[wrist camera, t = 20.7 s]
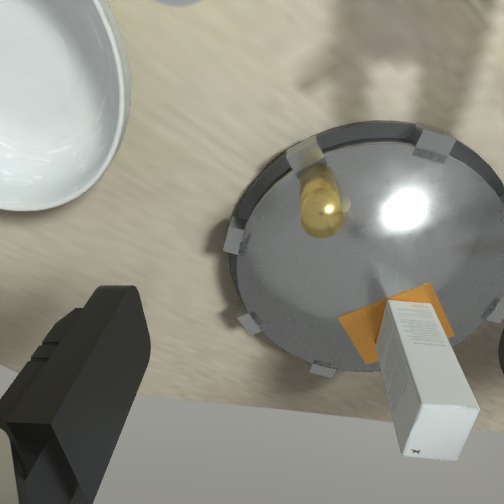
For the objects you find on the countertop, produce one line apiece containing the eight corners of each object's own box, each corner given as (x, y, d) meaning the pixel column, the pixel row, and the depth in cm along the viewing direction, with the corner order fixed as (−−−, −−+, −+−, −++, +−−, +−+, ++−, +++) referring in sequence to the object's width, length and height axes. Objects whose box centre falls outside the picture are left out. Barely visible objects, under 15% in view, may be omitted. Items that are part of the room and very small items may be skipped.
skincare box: (417, 349, 42) (457, 463, 32) (374, 345, 42) (399, 458, 32) (433, 301, 39) (483, 410, 28) (386, 297, 39) (418, 404, 29)
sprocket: (469, 51, 30) (529, 70, 22) (551, 314, 41) (611, 388, 33) (170, 212, 39) (139, 266, 31) (303, 393, 49) (305, 466, 42)
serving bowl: (-157, 21, 34) (-252, 27, 28) (3, -194, 26) (-81, -248, 21) (40, 219, 42) (-1, 255, 36) (206, 96, 34) (188, 117, 29)
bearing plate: (548, 113, 33) (555, 116, 32) (477, 357, 46) (481, 364, 45) (217, 127, 36) (215, 130, 35) (241, 353, 49) (240, 360, 48)
